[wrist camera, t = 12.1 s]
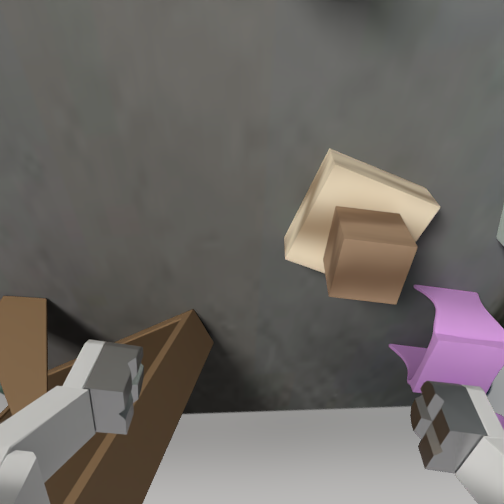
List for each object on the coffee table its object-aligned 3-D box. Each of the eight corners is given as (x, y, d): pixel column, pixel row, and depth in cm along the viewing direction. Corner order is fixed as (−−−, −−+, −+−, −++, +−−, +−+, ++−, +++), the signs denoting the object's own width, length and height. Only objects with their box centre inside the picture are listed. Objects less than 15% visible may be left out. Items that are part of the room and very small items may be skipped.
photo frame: (214, 336, 45) (161, 642, 24) (65, 394, 51) (-83, 678, 30) (130, 229, 38) (-49, 521, 17) (-30, 312, 45) (-303, 599, 24)
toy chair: (489, 289, 40) (590, 427, 27) (454, 354, 45) (526, 497, 32) (405, 278, 40) (467, 412, 27) (379, 344, 45) (420, 485, 32)
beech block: (328, 147, 34) (335, 164, 30) (424, 186, 35) (440, 207, 32) (284, 235, 38) (285, 259, 35) (370, 267, 40) (379, 292, 36)
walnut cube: (335, 205, 32) (344, 238, 28) (399, 213, 32) (417, 247, 28) (322, 259, 35) (328, 296, 31) (382, 266, 35) (396, 304, 31)
